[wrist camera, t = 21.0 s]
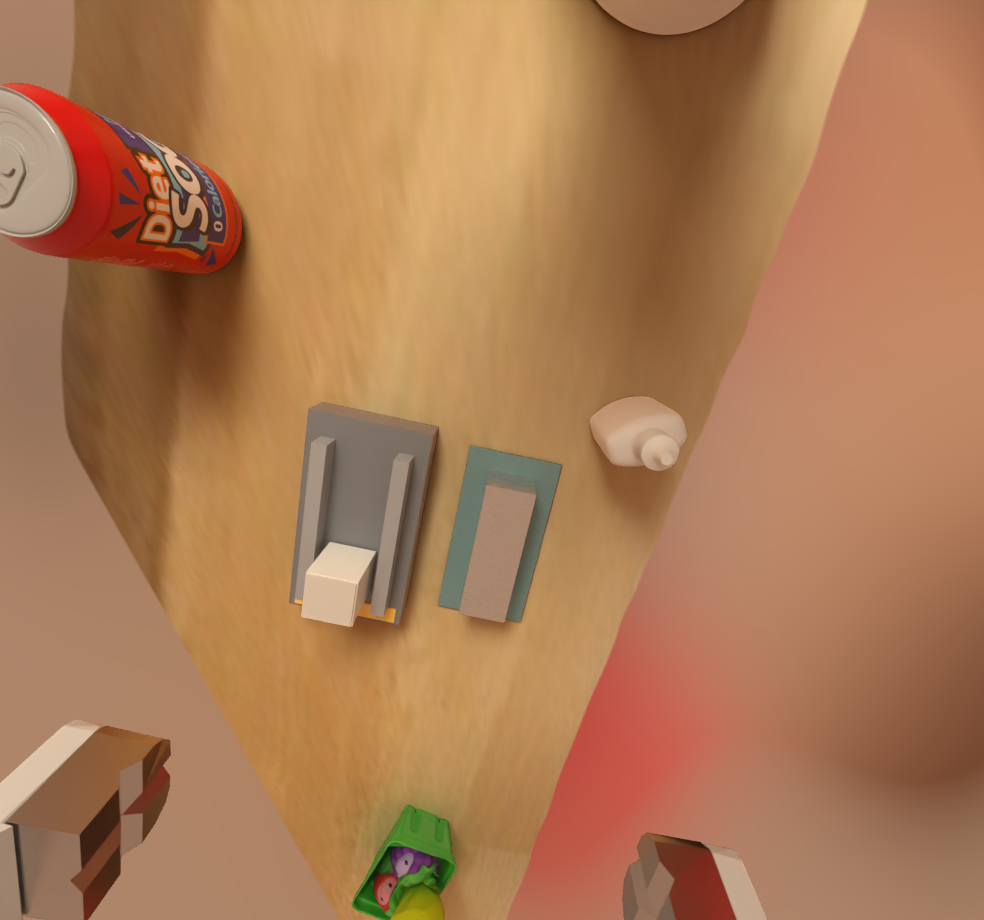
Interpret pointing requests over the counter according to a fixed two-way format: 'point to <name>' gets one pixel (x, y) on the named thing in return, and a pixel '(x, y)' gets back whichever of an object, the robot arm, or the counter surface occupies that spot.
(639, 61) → the counter surface
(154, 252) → the soda can
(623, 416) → the eye dropper bottle
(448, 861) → the fruit basket
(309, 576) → the switch tab
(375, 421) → the switch panel
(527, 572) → the mat
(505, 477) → the bar
